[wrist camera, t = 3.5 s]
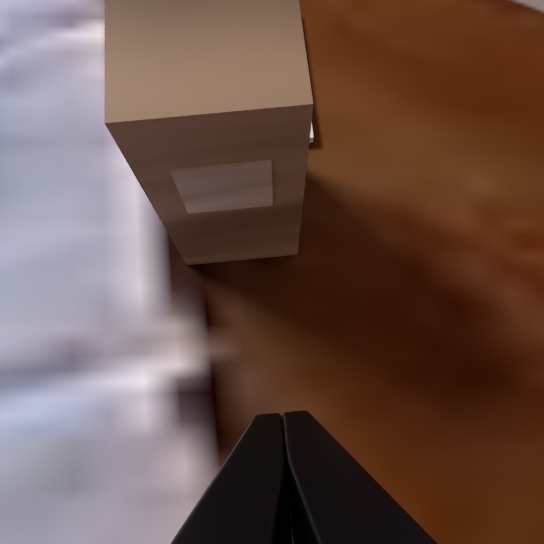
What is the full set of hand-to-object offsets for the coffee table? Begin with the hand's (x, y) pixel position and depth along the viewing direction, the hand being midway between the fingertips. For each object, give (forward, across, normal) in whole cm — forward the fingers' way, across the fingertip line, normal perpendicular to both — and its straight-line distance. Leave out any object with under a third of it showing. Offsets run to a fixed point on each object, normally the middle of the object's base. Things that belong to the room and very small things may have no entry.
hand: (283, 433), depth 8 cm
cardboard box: (+14, -1, -1) cm, 14 cm away
